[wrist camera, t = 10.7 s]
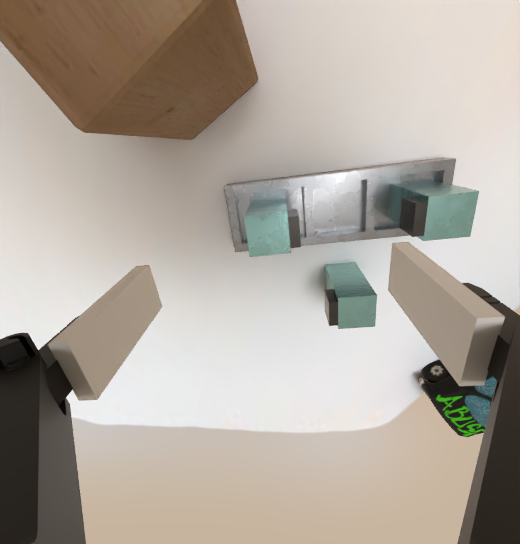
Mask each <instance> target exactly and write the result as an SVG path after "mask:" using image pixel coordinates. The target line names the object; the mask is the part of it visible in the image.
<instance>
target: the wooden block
mask: <svg viewBox="0 0 520 544" xmlns="http://www.w3.org/2000/svg"><path fill="white" fill-rule="evenodd" d="M0 41H1V42H2V43H3V44H4V45H5V47H6V48H7V49H8V50H9V51H10V52H11V53H12V55H13V56H14V57H15V58H16V59H17V60H18V62H19V63H20V64H21V65H22V66H23V67H24V68H25V70H26V71H27V72H28V73H29V74H30V75H31V76H32V78H33V79H34V80H35V81H36V82H37V83H38V84H39V86H40V87H41V88H42V89H43V90H44V91H45V92H46V94H47V95H48V96H49V97H50V98H51V99H52V100H53V102H54V103H55V104H56V105H57V106H58V107H59V109H60V110H61V111H62V112H63V113H64V114H65V115H66V117H67V118H68V119H69V120H70V121H71V122H72V123H73V125H74V126H75V127H77V128H78V129H80V130H81V131H83V132H85V133H99V134H114V135H129V136H144V137H159V138H173V139H188V140H191V139H194V138H195V137H196V136H197V135H198V134H199V133H200V132H201V131H202V130H204V129H205V128H206V127H207V126H208V125H209V124H210V123H211V122H213V121H214V120H215V119H216V118H217V117H218V116H219V115H220V114H222V113H223V112H224V111H225V110H226V109H227V108H228V107H229V106H231V105H232V104H233V103H234V102H235V101H236V100H237V99H238V98H240V97H241V96H242V95H243V94H244V93H245V92H246V91H247V90H249V89H250V88H251V87H252V86H253V85H254V84H255V83H256V82H257V80H258V76H257V72H256V68H255V65H254V62H253V58H252V55H251V51H250V48H249V44H248V41H247V37H246V34H245V30H244V27H243V24H242V20H241V17H240V13H239V10H238V6H237V3H236V0H0Z"/></svg>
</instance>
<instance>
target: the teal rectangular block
mask: <svg viewBox="0 0 520 544" xmlns="http://www.w3.org/2000/svg"><path fill="white" fill-rule="evenodd" d="M244 221H245V228H246V234H247V241H248V248H249V254H250V257H252V256H263V255H273V254H284V253H291V249H290V248H295V247H301V240H300V225H299V215H298V211H297V209H291V210H287V205H286V198H285V195H283V196H274V197H266V198H257V199H252V200H251V203H250V205H249V207H248V209H247V211H246V213H245V215H244Z"/></svg>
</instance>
